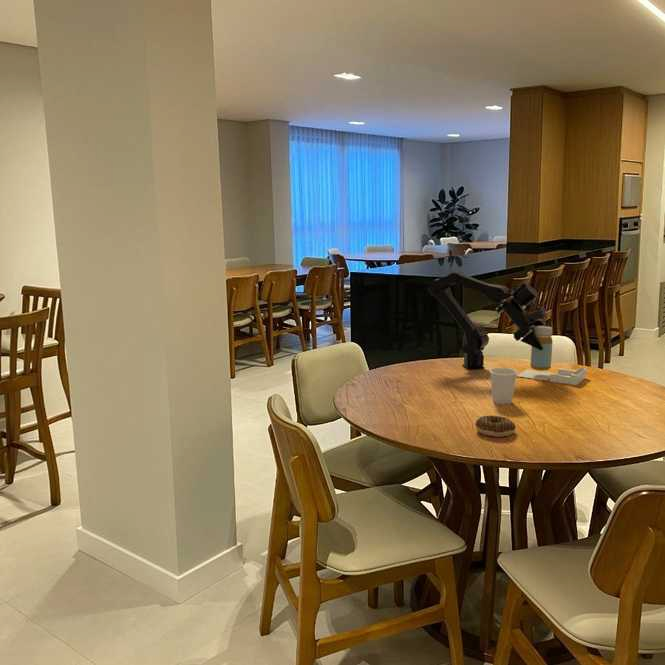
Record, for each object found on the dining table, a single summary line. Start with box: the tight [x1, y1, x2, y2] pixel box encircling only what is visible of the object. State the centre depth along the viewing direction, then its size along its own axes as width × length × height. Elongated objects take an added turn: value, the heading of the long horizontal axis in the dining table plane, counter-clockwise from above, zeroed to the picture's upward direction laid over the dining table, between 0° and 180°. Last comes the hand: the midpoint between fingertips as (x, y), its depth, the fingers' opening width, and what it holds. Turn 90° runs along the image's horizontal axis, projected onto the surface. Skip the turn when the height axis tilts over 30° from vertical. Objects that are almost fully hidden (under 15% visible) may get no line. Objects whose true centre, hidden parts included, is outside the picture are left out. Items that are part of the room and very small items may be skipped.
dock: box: [549, 367, 587, 386], centre depth 232 cm, size 9×12×4 cm
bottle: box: [530, 325, 553, 371], centre depth 236 cm, size 7×7×15 cm
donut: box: [475, 415, 517, 438], centre depth 179 cm, size 11×11×4 cm
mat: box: [516, 369, 557, 382], centre depth 238 cm, size 11×11×1 cm
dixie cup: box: [489, 367, 518, 405], centre depth 206 cm, size 8×8×10 cm
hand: (545, 347), depth 235 cm, fingers closed on bottle, 7 cm apart
